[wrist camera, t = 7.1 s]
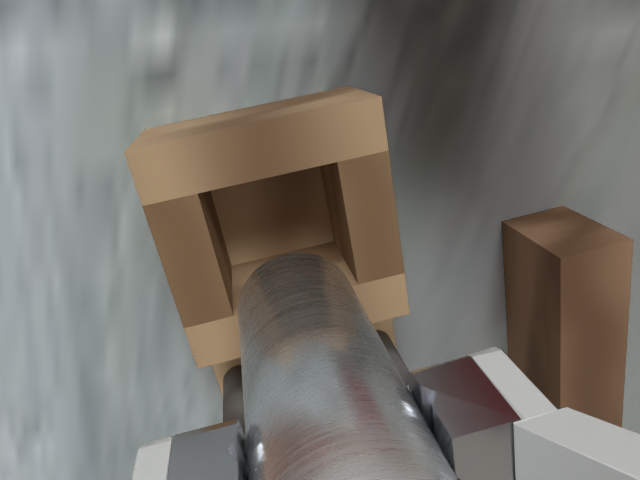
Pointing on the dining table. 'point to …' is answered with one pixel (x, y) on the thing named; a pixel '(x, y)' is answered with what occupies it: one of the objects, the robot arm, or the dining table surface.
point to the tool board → (271, 212)
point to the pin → (324, 383)
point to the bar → (569, 308)
